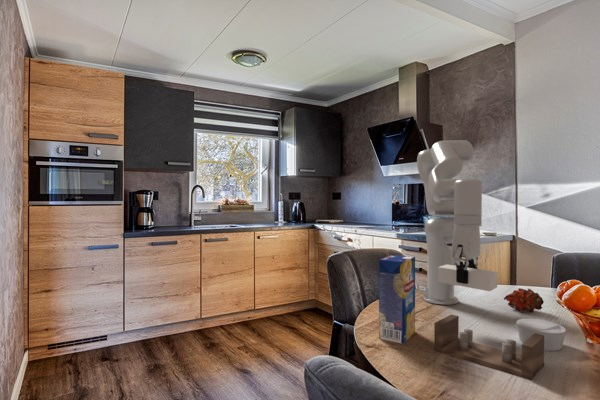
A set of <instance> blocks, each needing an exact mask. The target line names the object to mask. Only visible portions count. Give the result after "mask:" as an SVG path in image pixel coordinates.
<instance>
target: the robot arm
mask: <svg viewBox="0 0 600 400" xmlns="http://www.w3.org/2000/svg"><path fill="white" fill-rule="evenodd" d="M473 147H474V146H473V145H472V143H471V142H470V141H468V140H467V139H466V140H464V139H460V140H459V139H457V140H456V139H453V140H449V139H447V140H445V139H444V140H439V141H436V142H435V143H434V144H432V146H431V148H429V149H428V148H427V149H424V150H422V151H420V152H418V154H417V158H416V165H417V171H418V174H419V176H420V179H421V181H422V182H423V183H422V184H423V187H424V197H425V204H426V210H427V213H428V214H429V215H430V216H432V218H430V219H428V220H427V221H426V222H425V225H424V232H425V234H424V235H425V238H426V239H425V240H426V249H427V250H426V251H427V254H426V255H427V259H426V262H427V264H426V265H427V268H426V269H427V270H426V274H427V275H426V276H427V279H426V280H427V282H426V284H427V286H423V285H419V286H418V292H419V293H424V295H422V299H423V301H425V302H427V303H430V304H434V305H442V306H443V305H444V306H447V305H448V306H449V305H456V304H458V303H459V298H458V297H457V296H455V285H453V284H447V283H442V282H438V267H440V266H443V265H446V264H448V265H454V266H456V281H457V282H458V283H464V284H468V270H467V268H474V269H478V264H479V263H478V260H479V257H480V254H481V232H480V231H481V230H480V227H482V226H483V225H482V221H483V220H482V217H483V215H482V213H483V211H482V209H483V208H482V207H483V203H482V202H483V197H482V196H483V183H482V181H481V180H480V179H478V178H456V177H457V176H459V175H460V174H461V172H462V170H463V168H464V167H465V166H467V165H468V164H470V163H471V161H472V160H473V157H474V148H473ZM448 244H451V248H450V246H448Z"/></svg>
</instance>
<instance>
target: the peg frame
mask: <svg viewBox="0 0 600 400" xmlns="http://www.w3.org/2000/svg"><path fill="white" fill-rule="evenodd" d="M459 317H460V316H459V315H456V314H450V315H447V316H445V317H443V318H441V319H439V320H438V321H435V322H434V327H433V328H434V335H433V336H434V339H433V340H434V342H433V345H434V346H433V348H434V349H433V350H434V351H436V352H440V353H443V354H446V355H449V356H453V357H456V358H459V359H463V360H466V361H469V362H473V363H475V364H480V365H481V366H482V365H483V366H486V367H489V368H492V369H496V370H499V371H503V372H506V373H509V374H512V375H516V376H518V377H522V378H524V379H527V380H531V381H532V380H534V378H535V377H536V376H537V375H538V373H540V371H541V370H542V368H543V367H545V351H544V335H540V334H536V333H534V334H533V335H532V336H531V337H530V338H529V339H528V340H526V341H525V342H524V343H522V344H521V354H520V353H517V341H516V340H514V339H506V341H505V342H502V343H501V349H500V348H497V347H492V346H489V345H486V344H482V343H478V342H475V341H473V340H474V339H473V335H474V333H473V331H474V330H473V329H469V328H465V329H464V330H463V331H460V332H459V329H460V328H459V326H460V325H459V321H460V320H459V319H460V318H459Z"/></svg>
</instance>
